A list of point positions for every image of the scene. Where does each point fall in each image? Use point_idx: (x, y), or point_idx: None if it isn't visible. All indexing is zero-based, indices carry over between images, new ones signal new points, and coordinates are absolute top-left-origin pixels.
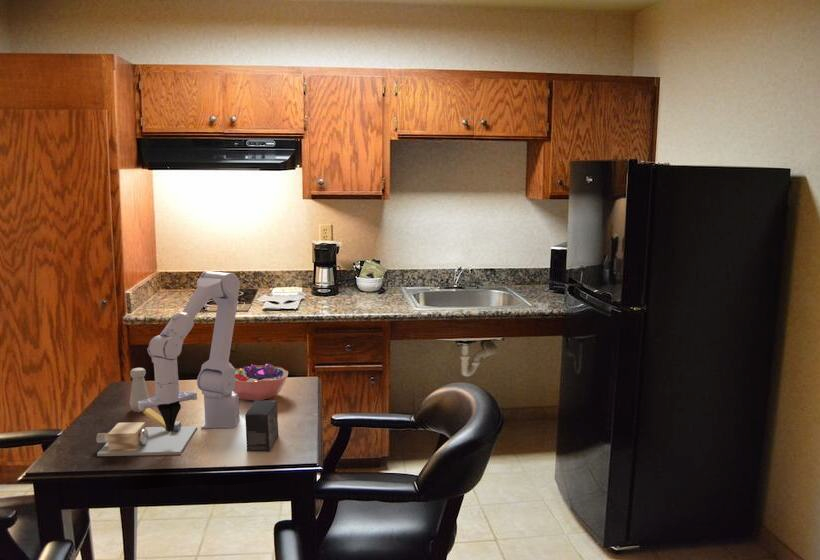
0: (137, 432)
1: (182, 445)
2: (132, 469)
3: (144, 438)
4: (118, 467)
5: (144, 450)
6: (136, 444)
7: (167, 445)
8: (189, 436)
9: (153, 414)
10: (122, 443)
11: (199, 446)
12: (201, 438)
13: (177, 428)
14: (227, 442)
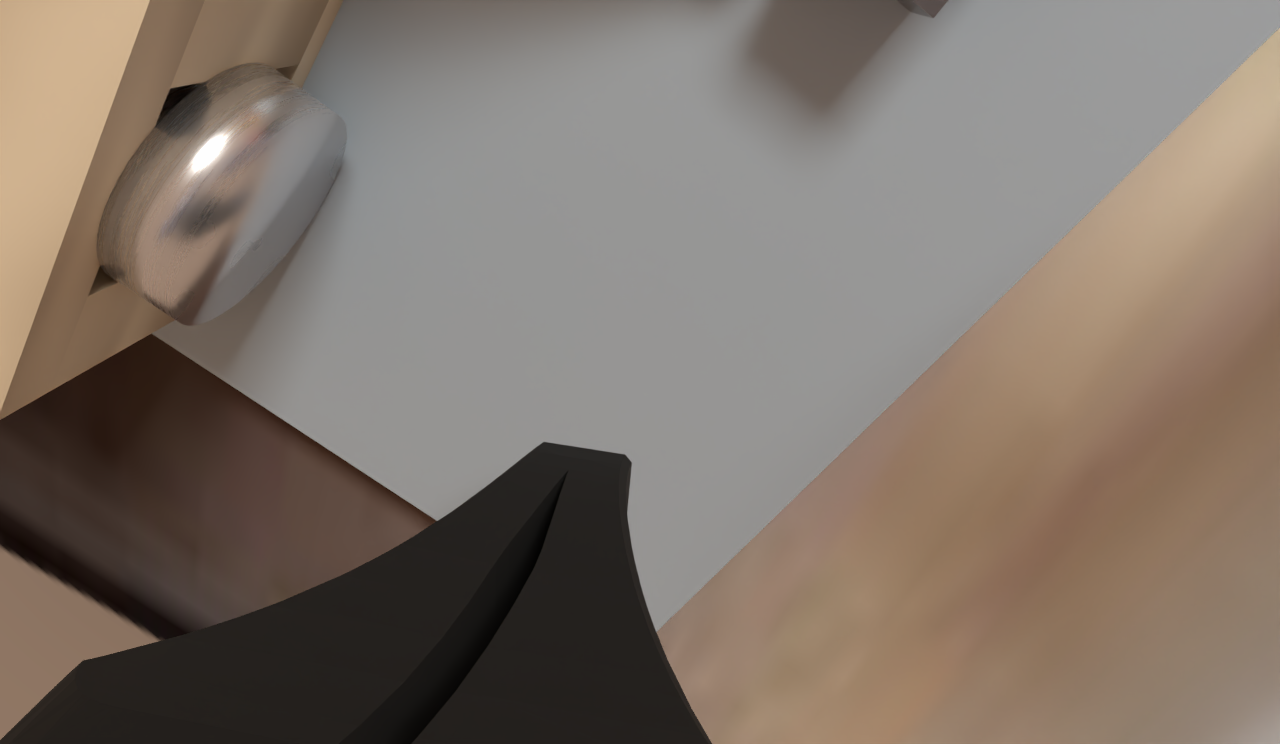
0: (45, 336)
1: (722, 532)
2: (162, 606)
3: (245, 264)
4: (40, 491)
5: (285, 368)
6: (146, 328)
7: (568, 411)
8: (951, 324)
9: None
10: None
11: (910, 582)
12: (1087, 387)
13: (915, 12)
14: (1234, 694)
